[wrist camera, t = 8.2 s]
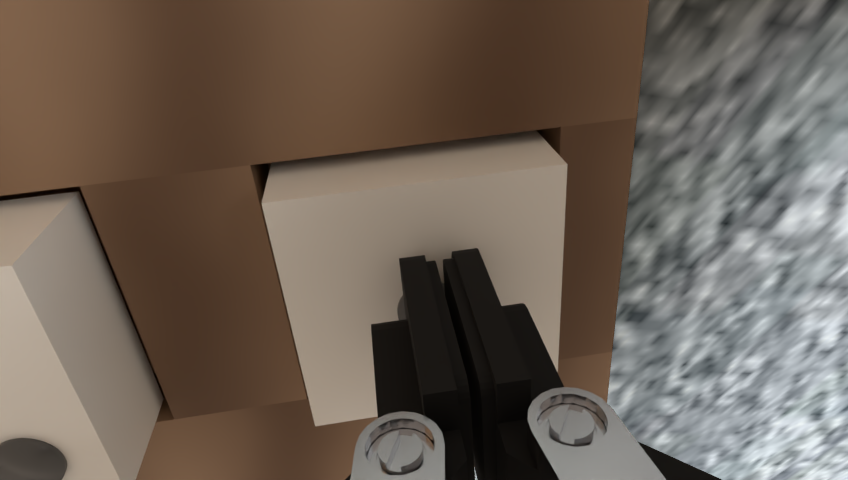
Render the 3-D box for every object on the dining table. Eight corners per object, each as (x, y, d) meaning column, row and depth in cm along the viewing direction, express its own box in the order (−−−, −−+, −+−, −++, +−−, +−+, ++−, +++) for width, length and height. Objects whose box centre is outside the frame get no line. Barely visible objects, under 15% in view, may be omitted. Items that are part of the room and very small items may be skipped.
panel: (595, -79, 13) (657, -75, 11) (568, 377, 20) (602, 445, 18) (-930, 67, 11) (-1311, 114, 9) (-375, 525, 18) (-492, 628, 16)
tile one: (524, 118, 14) (570, 167, 11) (523, 316, 17) (558, 392, 14) (274, 147, 14) (260, 206, 11) (318, 346, 17) (315, 431, 14)
